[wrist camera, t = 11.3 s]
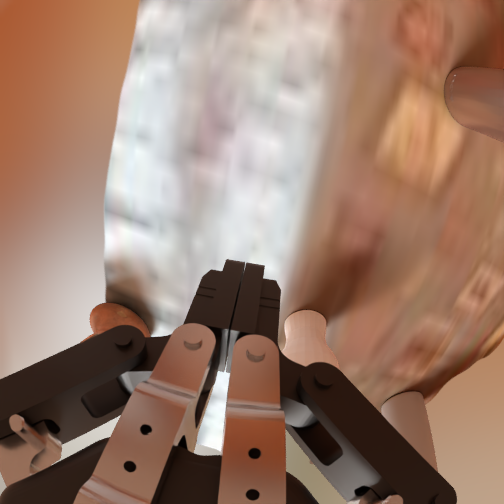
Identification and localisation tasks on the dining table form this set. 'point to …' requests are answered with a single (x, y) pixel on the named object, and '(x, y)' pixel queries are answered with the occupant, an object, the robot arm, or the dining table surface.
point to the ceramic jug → (114, 319)
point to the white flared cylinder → (307, 339)
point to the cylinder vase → (411, 422)
